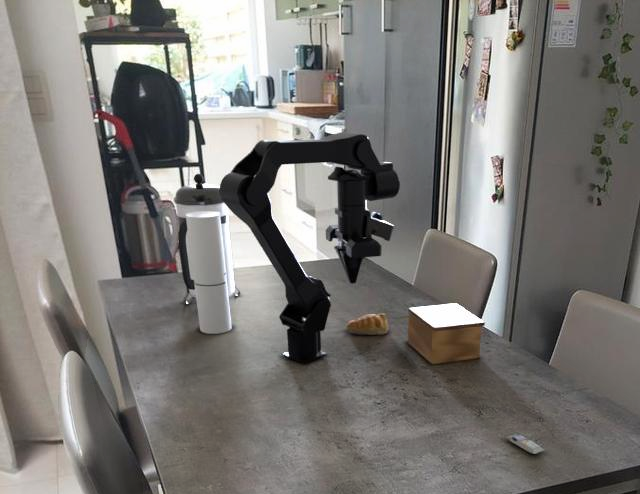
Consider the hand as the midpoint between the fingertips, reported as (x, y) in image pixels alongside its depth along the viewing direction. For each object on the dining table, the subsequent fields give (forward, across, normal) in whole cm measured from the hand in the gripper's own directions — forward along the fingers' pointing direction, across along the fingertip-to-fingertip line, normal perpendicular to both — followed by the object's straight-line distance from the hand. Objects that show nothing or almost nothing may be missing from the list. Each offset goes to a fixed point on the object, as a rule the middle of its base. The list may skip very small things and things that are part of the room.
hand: (352, 282), depth 146 cm
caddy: (+13, -11, -16) cm, 24 cm away
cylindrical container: (+13, +19, +27) cm, 36 cm away
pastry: (+13, +6, -6) cm, 16 cm away
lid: (+6, -11, -17) cm, 21 cm away
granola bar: (+13, -55, -11) cm, 57 cm away
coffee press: (+13, +41, +25) cm, 50 cm away
